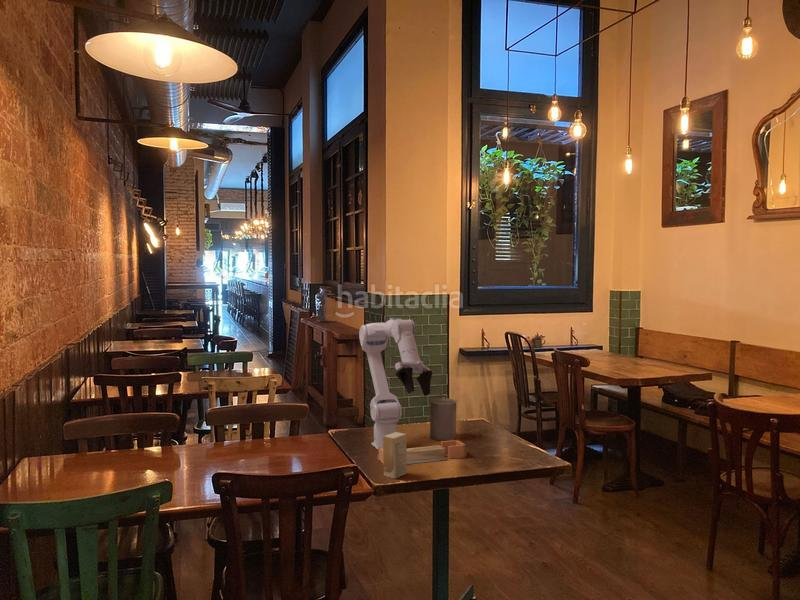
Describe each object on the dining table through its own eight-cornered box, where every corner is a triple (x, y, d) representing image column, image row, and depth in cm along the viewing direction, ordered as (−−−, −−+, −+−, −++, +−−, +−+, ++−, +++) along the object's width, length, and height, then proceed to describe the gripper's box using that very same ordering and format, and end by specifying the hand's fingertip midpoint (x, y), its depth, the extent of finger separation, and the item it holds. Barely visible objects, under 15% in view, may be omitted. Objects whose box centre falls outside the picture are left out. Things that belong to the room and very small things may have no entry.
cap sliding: (378, 459, 202) (378, 447, 202) (395, 457, 204) (395, 445, 204) (384, 465, 195) (384, 452, 195) (402, 463, 197) (402, 451, 197)
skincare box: (396, 471, 189) (396, 431, 189) (407, 474, 187) (407, 433, 186) (382, 476, 184) (382, 435, 184) (393, 479, 182) (393, 437, 181)
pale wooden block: (400, 459, 203) (400, 449, 202) (439, 455, 207) (439, 445, 207) (404, 463, 199) (404, 452, 199) (444, 458, 204) (444, 448, 204)
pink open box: (441, 453, 209) (441, 441, 209) (457, 451, 211) (457, 439, 211) (449, 458, 202) (449, 446, 202) (466, 457, 204) (466, 445, 204)
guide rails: (377, 458, 203) (377, 456, 203) (437, 452, 210) (437, 450, 210) (385, 466, 194) (385, 463, 194) (447, 460, 201) (447, 457, 201)
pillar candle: (425, 435, 233) (425, 396, 232) (448, 433, 237) (448, 393, 236) (438, 442, 224) (438, 400, 223) (461, 439, 228) (461, 398, 227)
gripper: (402, 344, 191) (413, 385, 185) (432, 351, 202) (443, 390, 195) (386, 354, 195) (396, 394, 189) (417, 360, 205) (427, 399, 199)
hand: (419, 393), depth 192 cm, fingers open, 7 cm apart
